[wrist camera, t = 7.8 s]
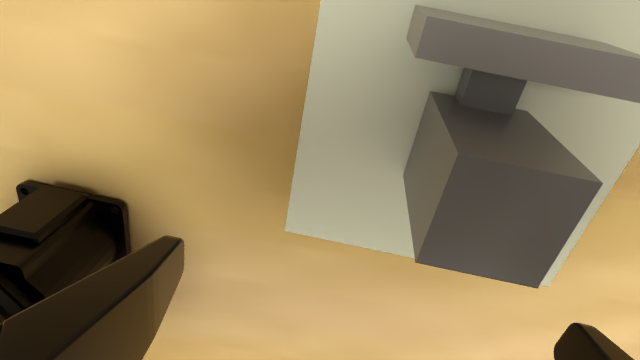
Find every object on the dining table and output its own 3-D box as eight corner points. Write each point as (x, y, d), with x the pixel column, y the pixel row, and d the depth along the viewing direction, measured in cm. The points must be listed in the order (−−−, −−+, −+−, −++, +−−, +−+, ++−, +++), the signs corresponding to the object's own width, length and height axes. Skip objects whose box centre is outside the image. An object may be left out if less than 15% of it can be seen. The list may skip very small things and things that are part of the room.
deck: (534, 261, 22) (548, 287, 20) (291, 210, 22) (284, 230, 20) (848, -271, 12) (933, -312, 10) (383, -356, 12) (385, -411, 10)
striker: (521, 199, 18) (583, 298, 13) (370, 168, 18) (370, 252, 13) (602, 42, 14) (735, 87, 9) (415, 4, 14) (439, 27, 9)
